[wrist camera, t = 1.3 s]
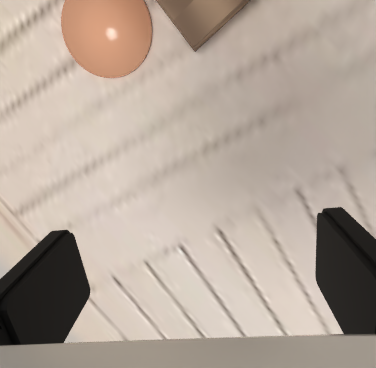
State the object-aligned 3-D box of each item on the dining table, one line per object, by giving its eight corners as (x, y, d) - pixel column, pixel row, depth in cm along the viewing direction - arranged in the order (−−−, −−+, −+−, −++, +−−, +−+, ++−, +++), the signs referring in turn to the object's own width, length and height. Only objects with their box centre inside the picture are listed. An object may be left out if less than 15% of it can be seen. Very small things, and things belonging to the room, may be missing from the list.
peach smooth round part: (106, -48, 28) (104, -51, 28) (170, 35, 31) (169, 34, 30) (46, 24, 31) (43, 23, 31) (108, 96, 33) (106, 96, 33)
